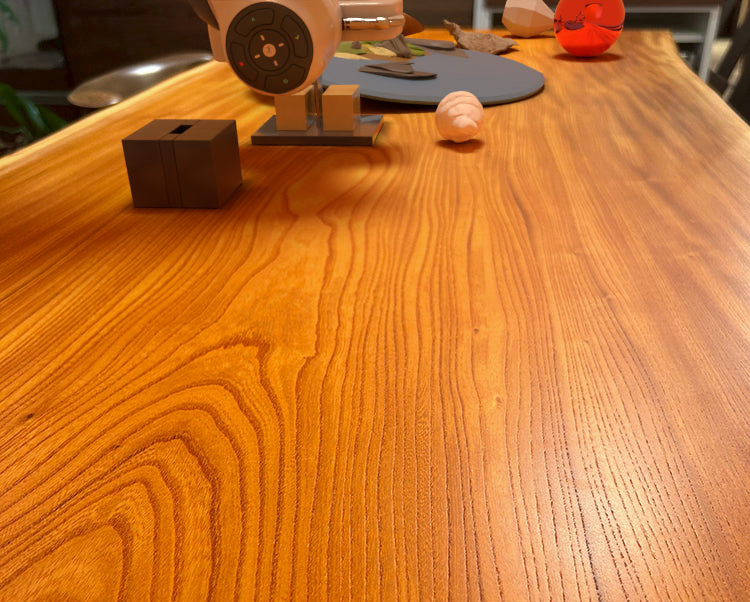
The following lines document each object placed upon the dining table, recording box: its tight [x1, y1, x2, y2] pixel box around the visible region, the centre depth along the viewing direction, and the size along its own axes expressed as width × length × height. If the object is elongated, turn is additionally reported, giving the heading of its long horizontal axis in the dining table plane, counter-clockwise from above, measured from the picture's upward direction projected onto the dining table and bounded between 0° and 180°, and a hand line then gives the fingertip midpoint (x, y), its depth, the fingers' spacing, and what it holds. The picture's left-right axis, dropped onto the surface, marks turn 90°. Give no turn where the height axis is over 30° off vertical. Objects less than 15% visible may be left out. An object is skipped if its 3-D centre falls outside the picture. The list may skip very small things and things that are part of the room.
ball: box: [552, 0, 626, 58], centre depth 134 cm, size 12×12×12 cm
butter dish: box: [250, 84, 384, 146], centre depth 91 cm, size 14×11×5 cm
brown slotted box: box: [121, 118, 244, 209], centre depth 71 cm, size 8×8×6 cm
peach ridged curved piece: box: [434, 91, 486, 144], centre depth 85 cm, size 6×6×5 cm
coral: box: [442, 19, 520, 55], centre depth 145 cm, size 18×16×5 cm
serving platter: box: [311, 34, 546, 106], centre depth 117 cm, size 45×43×12 cm
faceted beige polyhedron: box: [501, 0, 555, 39], centre depth 159 cm, size 8×18×8 cm, turn 77°
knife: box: [314, 74, 324, 127], centre depth 88 cm, size 3×3×17 cm
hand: (314, 10), depth 86 cm, fingers open, 8 cm apart
